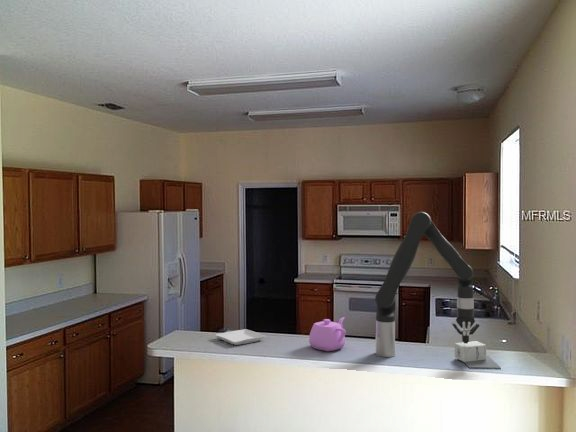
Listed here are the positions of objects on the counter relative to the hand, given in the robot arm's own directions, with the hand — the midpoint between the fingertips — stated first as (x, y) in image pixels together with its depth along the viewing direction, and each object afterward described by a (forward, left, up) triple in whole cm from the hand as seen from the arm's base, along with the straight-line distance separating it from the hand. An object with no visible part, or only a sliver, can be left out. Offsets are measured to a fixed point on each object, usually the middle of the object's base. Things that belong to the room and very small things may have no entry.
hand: (465, 342), depth 232 cm
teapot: (-66, +19, -10) cm, 69 cm away
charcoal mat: (+6, 0, -9) cm, 11 cm away
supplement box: (-3, +1, -5) cm, 6 cm away
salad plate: (-115, +30, -10) cm, 119 cm away
